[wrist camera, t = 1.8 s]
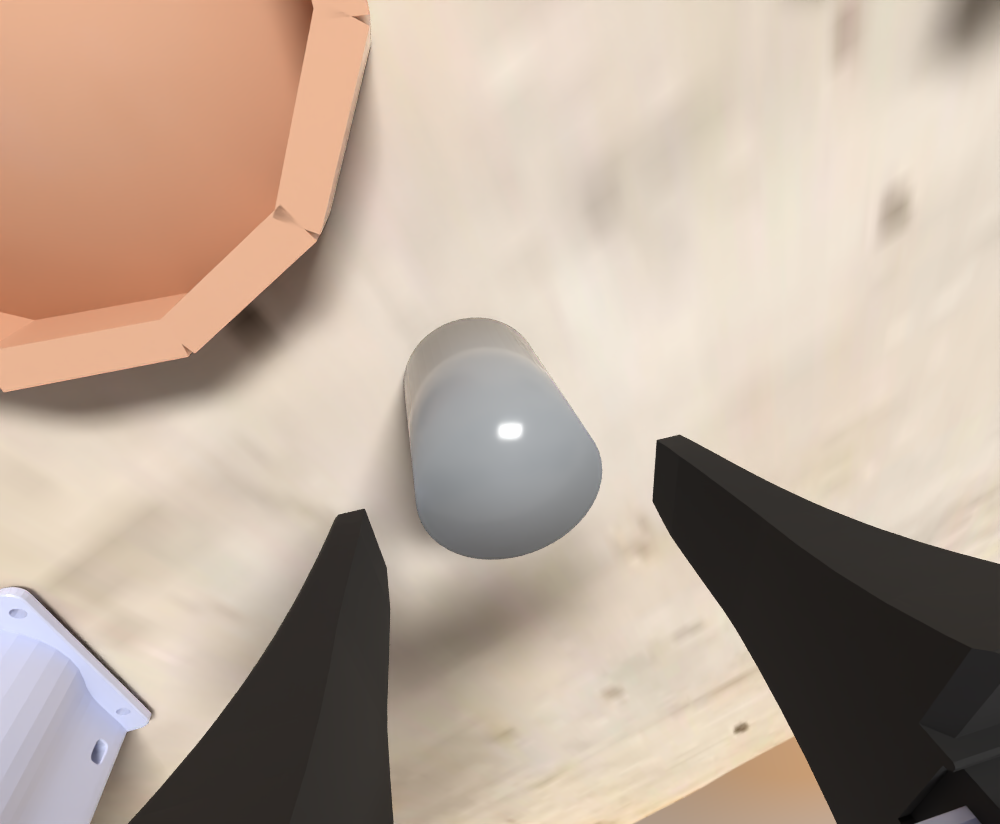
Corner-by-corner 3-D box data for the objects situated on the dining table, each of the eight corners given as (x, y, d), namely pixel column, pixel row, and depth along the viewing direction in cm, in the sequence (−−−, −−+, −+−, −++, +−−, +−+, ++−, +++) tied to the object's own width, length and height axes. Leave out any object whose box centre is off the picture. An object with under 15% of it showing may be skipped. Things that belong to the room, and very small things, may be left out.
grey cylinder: (542, 423, 19) (602, 534, 14) (419, 450, 18) (436, 577, 13) (532, 305, 16) (601, 390, 11) (388, 333, 16) (395, 435, 11)
